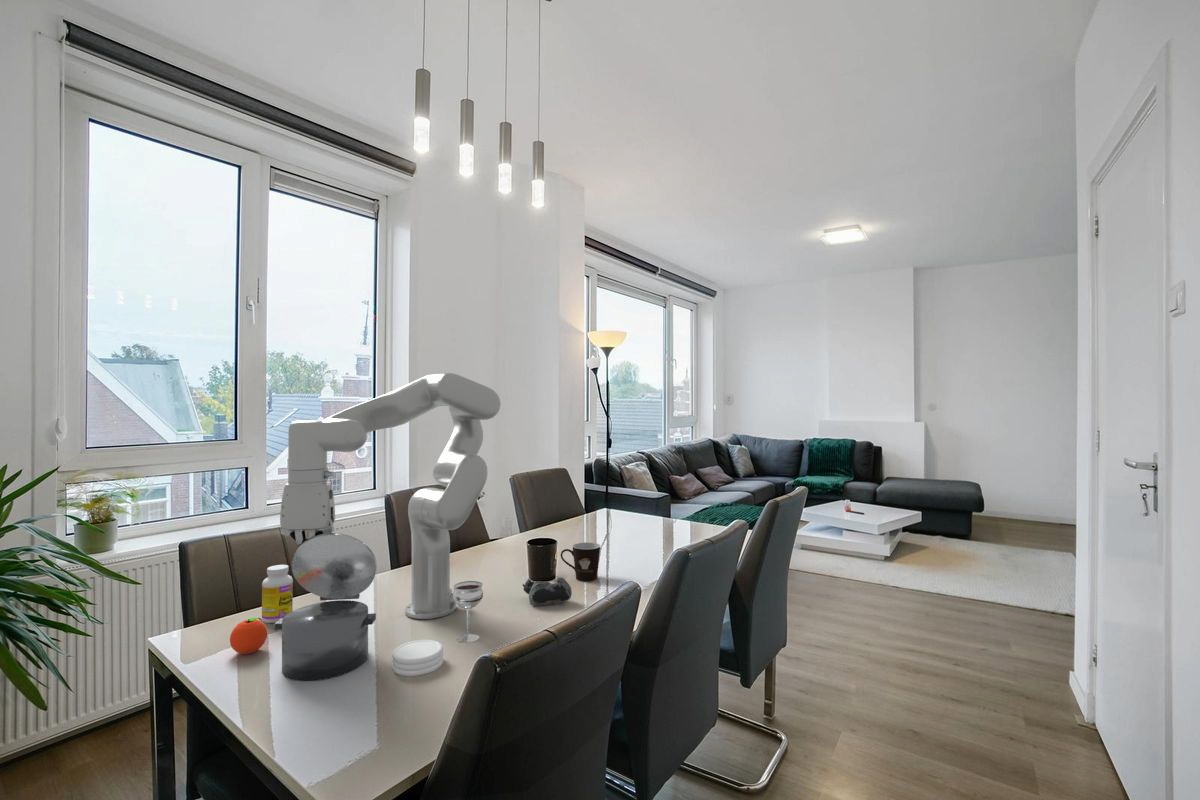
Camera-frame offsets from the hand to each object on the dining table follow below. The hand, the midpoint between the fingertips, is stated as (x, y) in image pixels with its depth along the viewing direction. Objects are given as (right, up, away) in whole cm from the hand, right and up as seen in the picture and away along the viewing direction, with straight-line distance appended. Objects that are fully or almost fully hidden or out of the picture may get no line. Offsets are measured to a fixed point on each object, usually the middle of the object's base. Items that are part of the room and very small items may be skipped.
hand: (307, 561), depth 123 cm
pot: (+7, -19, -6) cm, 21 cm away
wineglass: (+34, -19, +6) cm, 39 cm away
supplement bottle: (-17, -20, +18) cm, 31 cm away
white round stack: (+27, -20, -7) cm, 34 cm away
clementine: (-12, -19, -1) cm, 23 cm away
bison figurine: (+49, -20, +30) cm, 61 cm away
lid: (+6, -2, -1) cm, 7 cm away
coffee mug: (+58, -20, +51) cm, 80 cm away
